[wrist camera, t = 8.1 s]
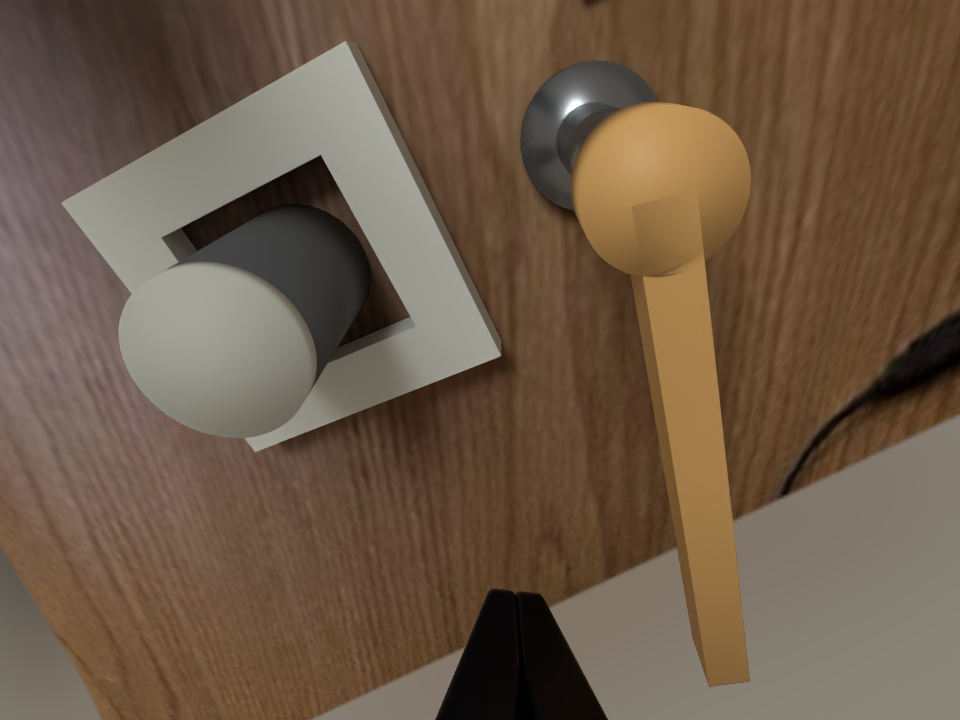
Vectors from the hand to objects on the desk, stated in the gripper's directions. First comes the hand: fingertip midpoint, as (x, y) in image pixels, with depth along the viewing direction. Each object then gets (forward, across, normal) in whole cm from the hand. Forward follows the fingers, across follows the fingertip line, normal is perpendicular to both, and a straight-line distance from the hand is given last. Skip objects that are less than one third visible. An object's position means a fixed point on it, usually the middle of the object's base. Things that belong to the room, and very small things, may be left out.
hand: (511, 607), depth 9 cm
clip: (+4, -4, -1) cm, 6 cm away
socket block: (+12, +7, -1) cm, 13 cm away
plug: (+12, +7, -1) cm, 14 cm away
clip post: (+12, -2, -6) cm, 13 cm away
